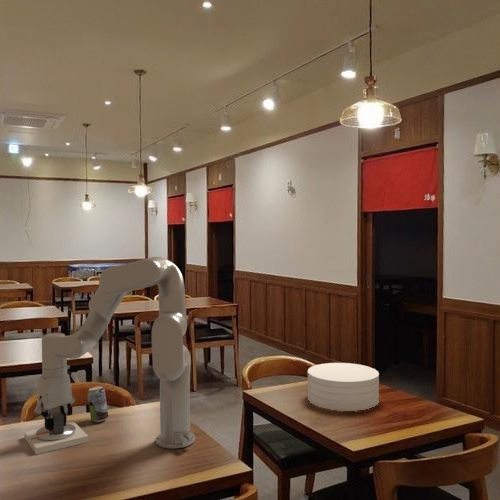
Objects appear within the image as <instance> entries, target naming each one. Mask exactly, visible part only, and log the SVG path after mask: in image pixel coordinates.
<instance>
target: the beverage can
mask: <svg viewBox="0 0 500 500" xmlns="http://www.w3.org/2000/svg"><path fill="white" fill-rule="evenodd" d="M106 397H107V396H106V390H105V388H104V387H103V386H101V385H100V386H95V387H91V388H89V389H88V392H87V400H88V407H89V414H90V420H91V421H92V422H94V423H100V422H103V421H106V420H107V418H109V411H108V404H107V398H106Z"/></svg>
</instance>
